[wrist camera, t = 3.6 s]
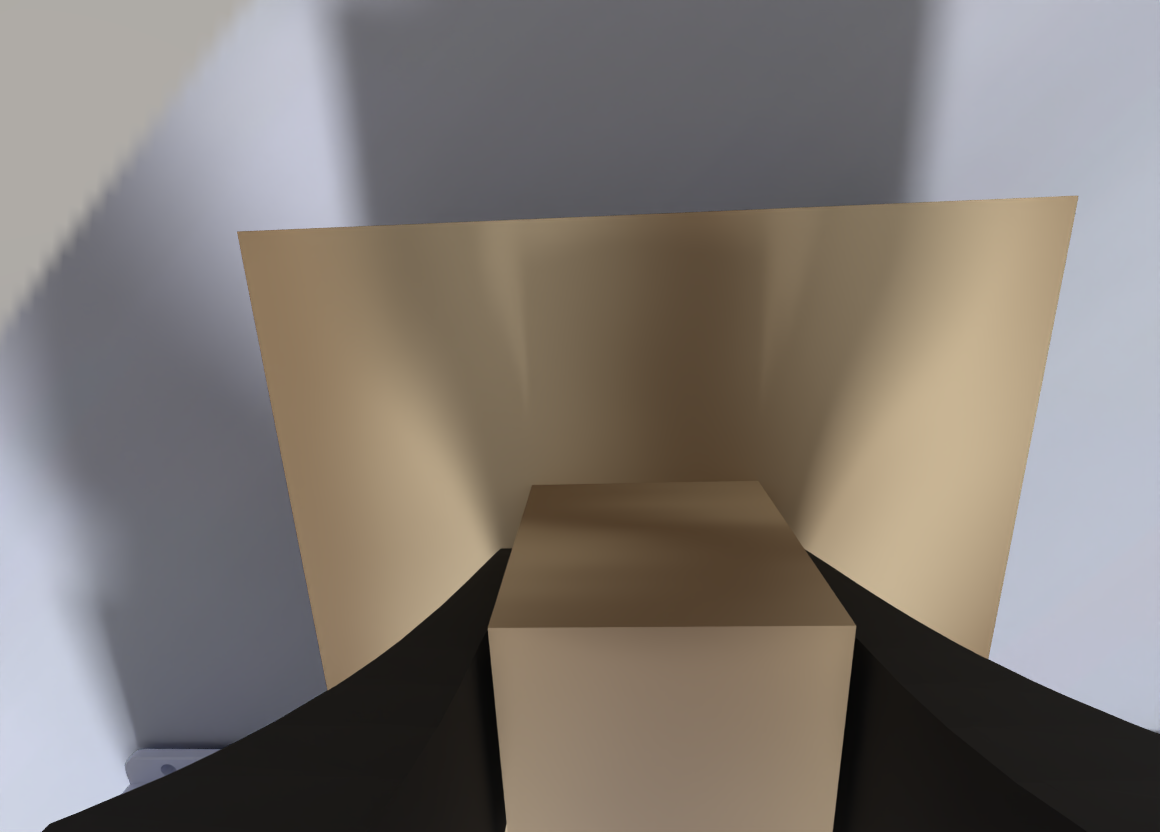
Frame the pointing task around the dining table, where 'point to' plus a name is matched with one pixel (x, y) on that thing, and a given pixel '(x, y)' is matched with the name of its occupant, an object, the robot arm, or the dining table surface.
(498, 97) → the dining table surface
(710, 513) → the oak lid
